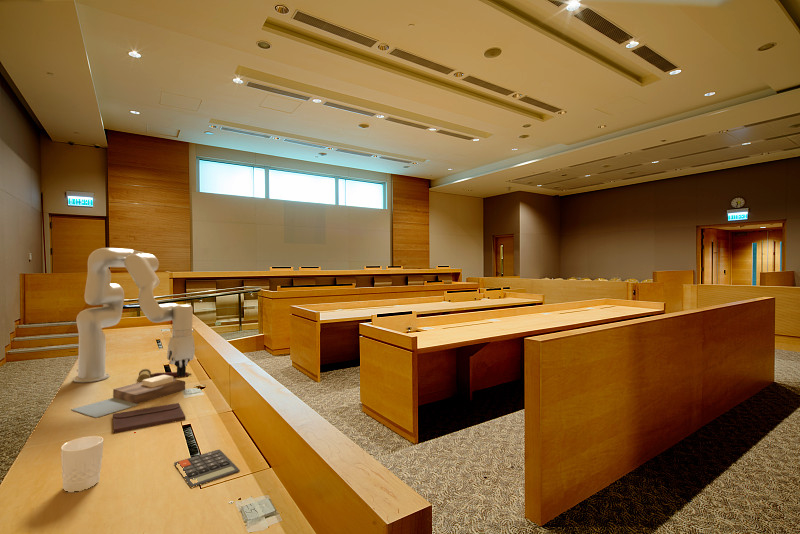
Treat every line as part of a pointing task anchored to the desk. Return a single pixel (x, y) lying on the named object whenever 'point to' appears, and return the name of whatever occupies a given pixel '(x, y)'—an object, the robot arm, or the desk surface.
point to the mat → (104, 407)
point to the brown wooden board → (147, 391)
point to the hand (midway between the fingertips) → (181, 375)
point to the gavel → (156, 374)
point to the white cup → (81, 463)
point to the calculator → (207, 467)
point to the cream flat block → (157, 380)
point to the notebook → (147, 417)
